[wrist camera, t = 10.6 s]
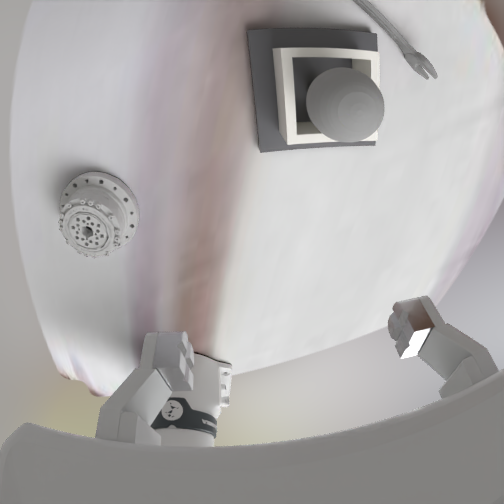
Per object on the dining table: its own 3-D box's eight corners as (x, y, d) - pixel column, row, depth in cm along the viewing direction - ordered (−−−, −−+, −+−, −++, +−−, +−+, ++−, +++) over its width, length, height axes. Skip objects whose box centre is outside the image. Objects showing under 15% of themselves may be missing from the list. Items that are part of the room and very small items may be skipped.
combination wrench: (275, -61, 12) (436, 88, 20) (285, -69, 11) (443, 80, 20) (270, -48, 15) (417, 81, 23) (278, -55, 14) (423, 74, 23)
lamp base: (371, 142, 28) (393, 160, 24) (259, 149, 28) (265, 168, 24) (372, 33, 20) (398, 34, 16) (246, 30, 20) (251, 26, 16)
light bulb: (277, 92, 23) (298, 116, 16) (315, 51, 21) (357, 53, 13) (321, 128, 26) (359, 169, 18) (357, 89, 23) (412, 114, 15)
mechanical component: (133, 252, 35) (148, 183, 29) (124, 276, 31) (138, 204, 26) (63, 232, 32) (67, 161, 26) (49, 254, 28) (49, 179, 23)
